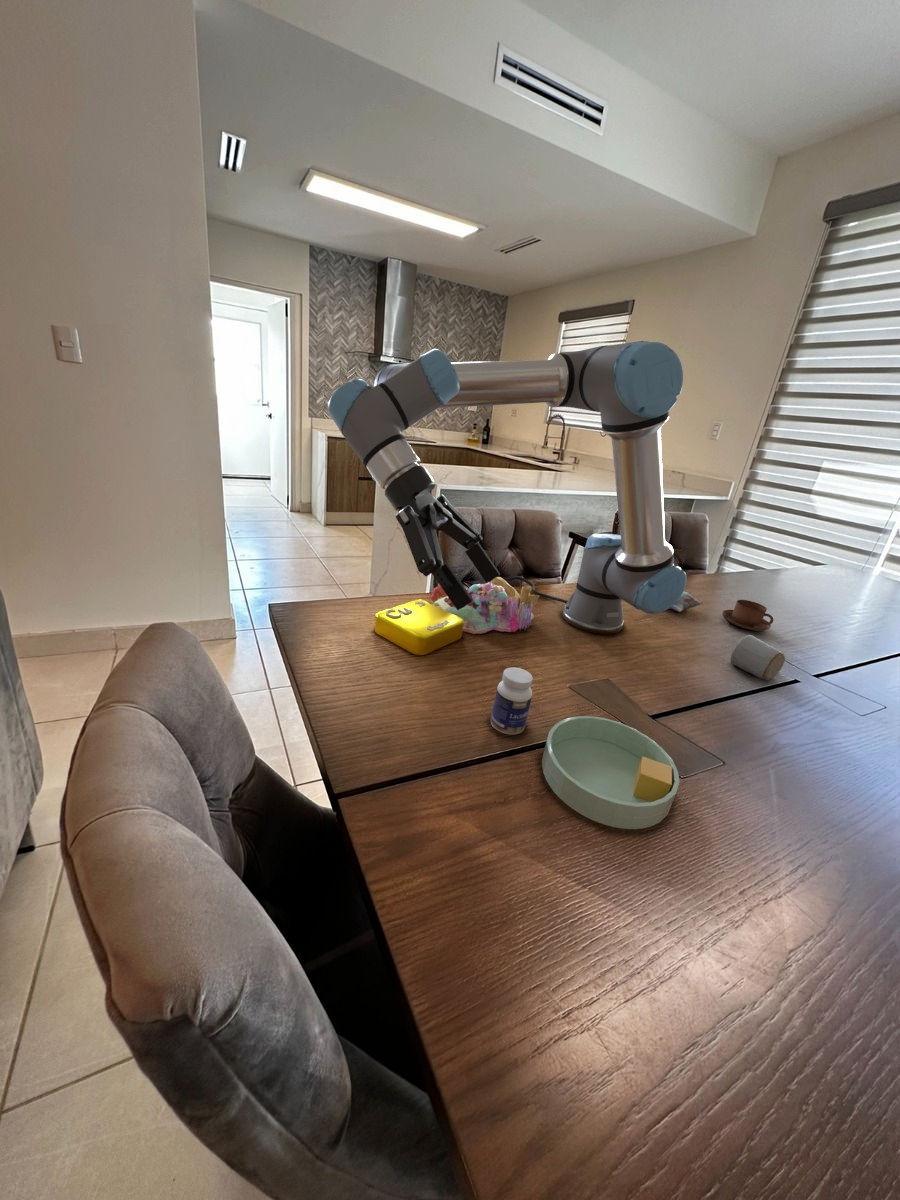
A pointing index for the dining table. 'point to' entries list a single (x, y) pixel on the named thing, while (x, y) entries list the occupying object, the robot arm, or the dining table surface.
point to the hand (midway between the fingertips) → (480, 591)
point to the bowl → (604, 771)
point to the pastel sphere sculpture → (491, 607)
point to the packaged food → (685, 602)
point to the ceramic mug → (757, 658)
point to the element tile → (418, 626)
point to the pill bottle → (512, 701)
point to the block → (652, 780)
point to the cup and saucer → (748, 616)
